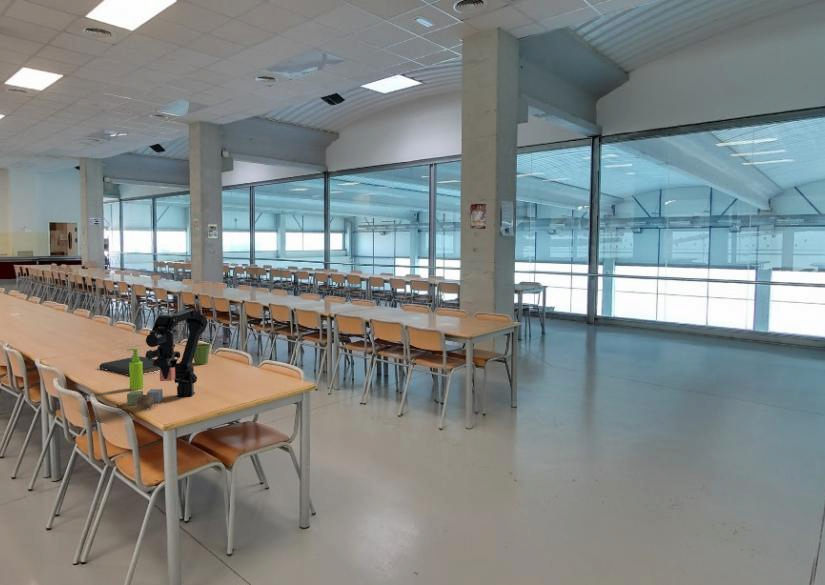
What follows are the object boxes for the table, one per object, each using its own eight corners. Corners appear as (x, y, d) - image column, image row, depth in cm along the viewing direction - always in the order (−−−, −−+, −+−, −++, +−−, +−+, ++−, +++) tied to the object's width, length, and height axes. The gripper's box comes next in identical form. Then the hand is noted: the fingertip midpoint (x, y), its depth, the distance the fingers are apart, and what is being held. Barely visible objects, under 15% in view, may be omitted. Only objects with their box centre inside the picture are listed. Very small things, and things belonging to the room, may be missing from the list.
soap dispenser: (132, 386, 270) (131, 347, 268) (145, 387, 270) (144, 347, 268) (125, 389, 264) (123, 349, 263) (138, 390, 264) (137, 350, 262)
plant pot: (215, 362, 328) (215, 343, 327) (204, 366, 317) (204, 347, 316) (197, 361, 330) (197, 342, 329) (186, 365, 319) (185, 346, 318)
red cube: (175, 378, 245) (174, 367, 245) (171, 380, 240) (171, 369, 240) (163, 378, 244) (163, 367, 244) (159, 381, 239) (159, 370, 239)
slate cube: (162, 399, 249) (162, 389, 248) (158, 402, 244) (158, 392, 243) (151, 400, 248) (151, 389, 248) (147, 403, 243) (146, 392, 243)
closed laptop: (173, 362, 310) (133, 371, 290) (173, 369, 311) (133, 378, 290) (139, 355, 327) (99, 363, 307) (139, 362, 328) (99, 370, 307)
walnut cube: (153, 405, 240) (152, 394, 240) (149, 408, 235) (148, 397, 235) (141, 405, 239) (141, 394, 239) (137, 409, 235) (136, 397, 234)
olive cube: (143, 401, 245) (142, 391, 245) (139, 405, 240) (138, 394, 240) (131, 402, 245) (131, 391, 244) (127, 405, 240) (126, 394, 239)
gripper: (155, 339, 249) (156, 372, 250) (139, 347, 231) (140, 382, 232) (180, 339, 250) (181, 372, 252) (166, 346, 232) (167, 382, 233)
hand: (167, 377), depth 242 cm, fingers closed on red cube, 5 cm apart
